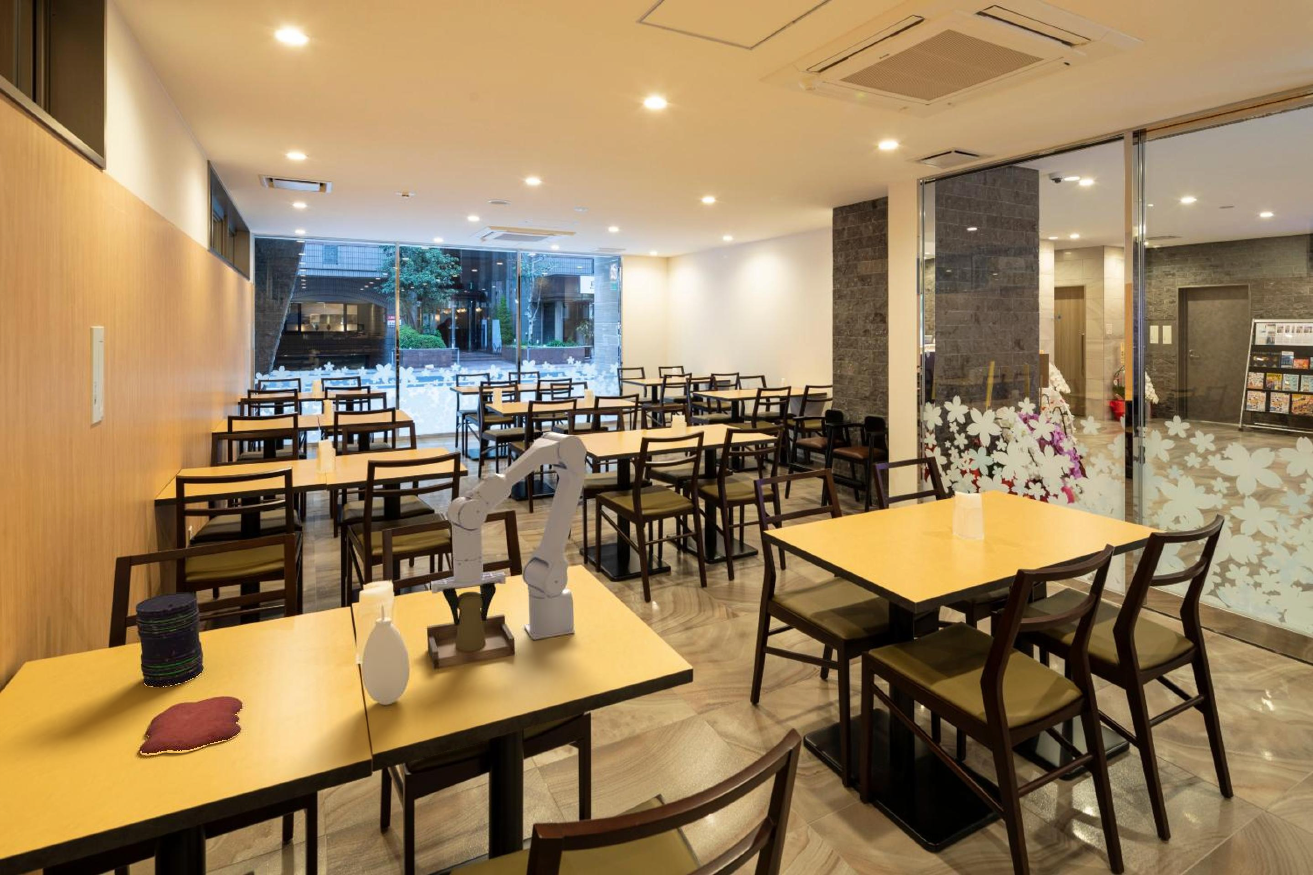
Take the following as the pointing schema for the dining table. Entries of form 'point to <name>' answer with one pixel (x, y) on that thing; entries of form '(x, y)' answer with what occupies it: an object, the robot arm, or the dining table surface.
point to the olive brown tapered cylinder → (470, 622)
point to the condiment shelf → (447, 654)
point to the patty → (193, 725)
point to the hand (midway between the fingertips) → (470, 621)
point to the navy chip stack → (169, 639)
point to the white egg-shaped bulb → (385, 662)
